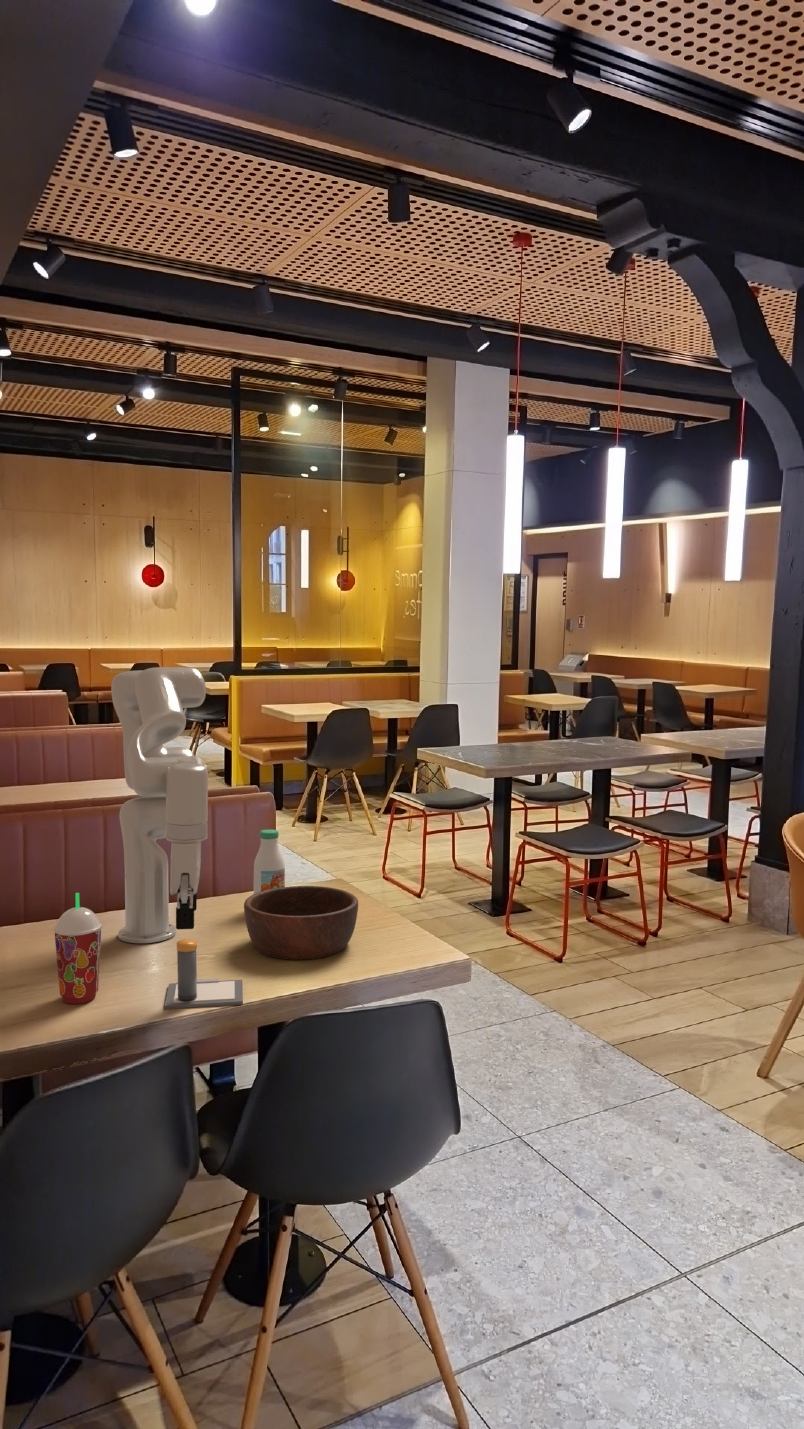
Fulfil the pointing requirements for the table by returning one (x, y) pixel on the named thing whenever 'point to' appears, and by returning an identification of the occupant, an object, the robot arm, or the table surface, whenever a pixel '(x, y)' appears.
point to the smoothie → (78, 954)
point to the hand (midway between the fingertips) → (186, 919)
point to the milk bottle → (269, 863)
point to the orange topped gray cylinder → (187, 970)
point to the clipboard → (208, 994)
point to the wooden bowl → (301, 921)
